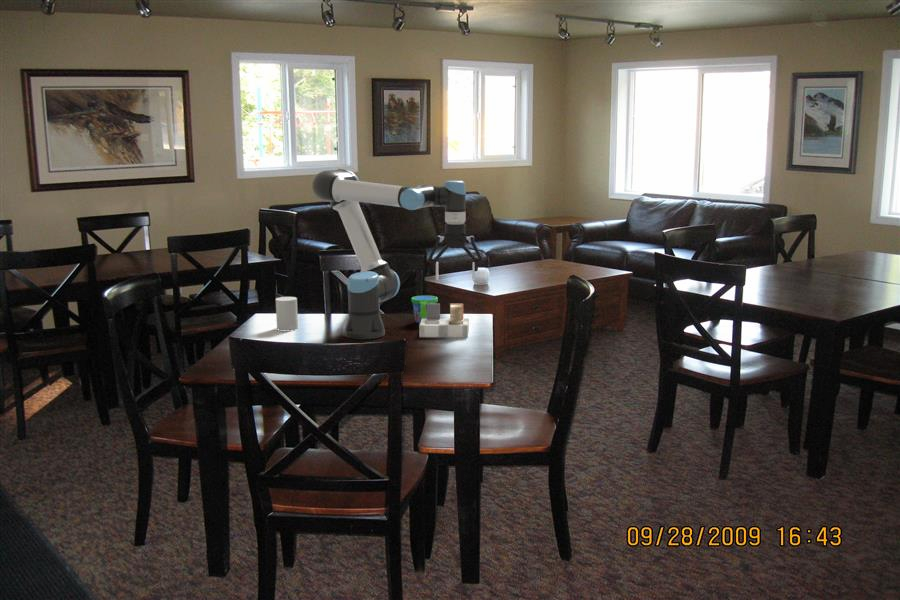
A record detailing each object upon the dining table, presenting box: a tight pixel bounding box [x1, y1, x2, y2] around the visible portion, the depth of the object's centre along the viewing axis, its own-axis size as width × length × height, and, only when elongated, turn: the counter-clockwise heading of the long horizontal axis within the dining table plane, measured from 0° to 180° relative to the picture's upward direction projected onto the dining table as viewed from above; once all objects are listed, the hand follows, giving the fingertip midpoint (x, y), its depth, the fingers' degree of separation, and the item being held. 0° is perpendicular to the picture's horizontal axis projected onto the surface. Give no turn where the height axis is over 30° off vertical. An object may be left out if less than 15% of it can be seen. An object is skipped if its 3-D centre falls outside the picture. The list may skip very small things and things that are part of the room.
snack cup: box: [411, 295, 439, 324], centre depth 338 cm, size 16×10×10 cm
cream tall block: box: [449, 305, 461, 325], centre depth 317 cm, size 4×4×11 cm
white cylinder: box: [275, 296, 299, 331], centre depth 329 cm, size 8×8×12 cm
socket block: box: [418, 303, 470, 338], centre depth 319 cm, size 18×12×10 cm, turn 87°
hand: (455, 280), depth 314 cm, fingers open, 13 cm apart
